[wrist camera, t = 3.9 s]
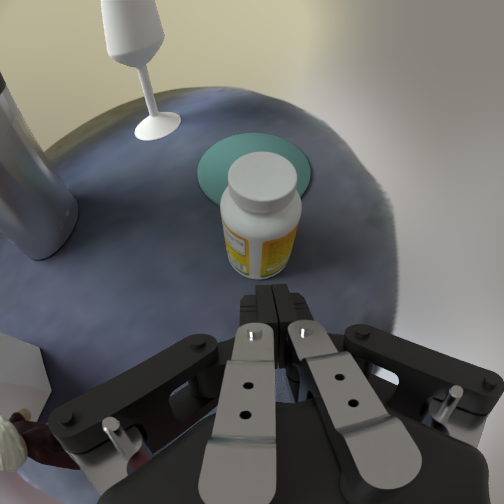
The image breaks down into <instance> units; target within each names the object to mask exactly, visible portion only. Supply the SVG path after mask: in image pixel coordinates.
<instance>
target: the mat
mask: <svg viewBox="0 0 504 504" xmlns="http://www.w3.org/2000/svg"><path fill="white" fill-rule="evenodd" d="M253 152H271V153H275V154H278V155H280V156H282V157H284V158H286V159H287V160H288V161H289V162H291V164H292V165H293V166H294V168H295V170H296V173H297V185H296V190H297V192H298V194H299V196H300V197H301V196H302V195H303V193H304V192H305V191H306V189H307V187H308V184H309V181H310V174H311V171H310V165H309V162H308V160H307V158H306V156H305V155H304V153H303V152H302V151H301V150H300V149H299V148H298V147H296V146H295V145H294V144H292V143H291V142H289V141H287V140H285V139H283V138H281V137H278V136H275V135H270V134H265V133H243V134H237V135H233V136H230V137H227V138H225V139H222V140H221V141H219V142H217V143H215V144H214V145H213V146H211V147H210V148H209V149H208V150H207V151H206V152H205V153H204V155H203V156H202V158H201V160H200V162H199V165H198V170H197V176H198V181H199V185H200V187H201V189H202V191H203V192H204V194H205V195H206V196H207V197H208V198H209V199H210V200H211V201H213V202H214V203H215V204H217V205H219V206H220V203H221V198H222V195H223V193H224V191H225V189H226V188H227V187H228V172H229V169H230V167H231V166H232V164H233V163H234V162H235V161H236V160H237V159H238V158H240V157H242V156H243V155H246V154H249V153H253Z"/></svg>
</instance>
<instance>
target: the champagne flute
mask: <svg viewBox="0 0 504 504" xmlns="http://www.w3.org/2000/svg"><path fill="white" fill-rule="evenodd" d="M101 9H102V17H103V25H104V32H105V39H106V45H107V51H108V54H109V56H110V57H111V58H112V59H113V60H115V61H117V62H119V63H121V64H124V65H127V66H130V67H136V68H137V71H138V75H139V78H140V82H141V86H142V89H143V93H144V96H145V100H146V103H147V107H148V110H149V114H150V116H148V117H147V118H146V119H144V120H143V121H142V122H141V123H140V124H139V125H138V126H137V127H136V129H135V136H136V137H137V138H139V139H141V140H155V139H159V138H162V137H164V136H167V135H168V134H170V133H172V132H173V131H174V130H176V129H177V128H178V126H179V125H180V123H181V118H180V116H179V115H177V114H175V113H171V112H158V110H157V106H156V102H155V98H154V94H153V91H152V87H151V83H150V79H149V75H148V71H147V67H146V64H147V63H148V62H149V61H150V60H151V59H152V58H153V56H154V55H155V54H156V52H157V51H158V50H159V48H160V46H161V44H162V42H163V40H164V32H163V29H162V25H161V22H160V19H159V15H158V11H157V8H156V4H155V1H154V0H101Z"/></svg>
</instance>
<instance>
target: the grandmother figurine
mask: <svg viewBox="0 0 504 504" xmlns="http://www.w3.org/2000/svg"><path fill="white" fill-rule="evenodd" d="M30 419H31V413H30V411H29V410H28V409H25V408H23V409H21V410H20V411H18V412H15V413H13V414H12V415H11V417H10V418H9V420H8V419H6V418H5V417H3V416H1V415H0V471H3V472H10V471H17V470H18V468H20V467H21V466H23V464H24V463H25V461H26V459H27V456H28V457H30V458H31V459H33V460H35V461H37V462H39V463H41V464H45V465H51V466H56V467H62V468H69V469H74V470H80V469H81V468H80V466H79V465H78V464H77V463H76V462H75V461H74V460H73V459H72V458H71V457H70V455H69V454H68V453H67V452H66V451H65V450H64V449H63V447H62V446H61V443H60V442H59V441H58V440H57V439H56V437H55V436H54V435H53V433H52V432H51V431H50V430H49V427H48V423H46V424H45V423H43V422H34V421H30Z"/></svg>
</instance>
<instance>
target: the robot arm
mask: <svg viewBox="0 0 504 504" xmlns="http://www.w3.org/2000/svg"><path fill="white" fill-rule="evenodd" d="M77 217H78V203H77V201H76V199H75V198H74V196H73V195H72V193H71V192H70V191H69V189H68V188H67V186H66V185H65V184H64V182H63V181H62V179H61V178H60V176H59V175H58V173H57V172H56V170H55V169H54V167H53V166H52V164H51V163H50V161H49V160H48V158H47V157H46V155H45V153H44V152H43V150H42V149H41V147H40V145H39V144H38V142H37V141H36V139H35V137H34V136H33V134H32V132H31V131H30V129H29V127H28V125H27V124H26V122H25V120H24V118H23V117H22V115H21V113H20V111H19V109H18V108H17V106H16V104H15V102H14V100H13V98H12V96H11V94H10V92H9V90H8V88H7V86H6V83H5V81H4V79H3V77H2V75H1V73H0V232H1V233H2V234H3V235H4V236H5V237H6V238H7V239H8V240H9V241H10V242H12V243H13V244H14V245H15V246H16V247H17V248H19V249H20V250H21V251H22V252H23V253H25V254H26V255H27V256H28V257H29V258H31V259H34V260H41V259H44V258H47V257H48V256H50V255H52V254H53V253H55V252H56V251H57V250H58V249H59V248H60V247H61V246H62V245H63V244H64V243H65V241H66V240H67V239H68V237H69V236H70V234H71V232H72V230H73V229H74V226H75V224H76V221H77ZM255 289H256V295H245V296H244V297H243V298H242V299H241V301H240V327H239V328H238V330H237V332H236V336H235V337H234V338H232V339H230V340H227V341H224V342H219V343H217V340H216V339H215V338H214V337H212V336H210V335H207V334H194V335H190V336H188V337H186V338H184V339H182V340H181V341H179V342H177V343H175V344H174V345H172V346H170V347H169V348H167V349H165V350H163V351H162V352H160V353H158V354H156V355H154V356H153V357H151V358H149V359H147V360H146V361H144V362H142V363H140V364H138V365H137V366H135V367H133V368H131V369H129V370H127V371H126V372H124V373H122V374H120V375H118V376H116V377H115V378H113V379H111V380H109V381H107V382H105V383H103V384H101V385H99V386H98V387H96V388H94V389H92V390H90V391H88V392H86V393H84V394H82V395H80V396H78V397H76V398H74V399H72V400H70V401H68V402H66V403H64V404H62V405H60V406H58V407H57V408H55V409H54V410H53V411H52V412H51V413H50V415H49V417H48V427H49V430H50V431H51V432H52V433H53V435H54V436H55V437H56V439H57V440H58V441H59V442H60V443H61V446H62V447H63V449H64V450H65V451H66V452H67V453H68V454H69V455H70V457H71V458H72V459H73V460H74V461H75V462H76V463H77V464H78V465H79V466H80V468H81V469H82V471H83V472H84V474H85V475H86V477H87V478H88V479H89V481H90V482H91V484H92V485H93V486H94V488H95V489H96V490H97V492H98V493H99V494H100V496H101V497H100V499H99V500H98V503H97V504H491V503H490V498H489V487H488V479H489V478H488V477H489V470H488V465H487V462H486V459H485V458H484V456H483V454H482V453H481V452H480V451H479V450H478V449H477V446H478V443H479V440H480V437H481V435H482V432H483V428H484V425H485V422H486V418H487V417H488V415H489V414H490V412H491V411H492V409H493V408H494V406H495V405H496V403H497V402H498V400H499V398H500V396H501V395H502V393H503V392H504V381H503V379H502V378H501V377H500V376H499V375H498V374H497V373H495V372H493V371H490V370H487V369H484V368H481V367H478V366H475V365H473V364H470V363H467V362H464V361H461V360H458V359H456V358H453V357H450V356H447V355H445V354H442V353H439V352H437V351H434V350H431V349H429V348H426V347H423V346H421V345H418V344H415V343H413V342H410V341H407V340H405V339H402V338H399V337H397V336H394V335H392V334H389V333H387V332H384V331H382V330H379V329H376V328H374V327H371V326H368V325H363V324H357V325H352V326H350V327H348V328H347V329H346V330H345V334H344V335H337V334H330V333H326V331H325V329H324V328H323V326H322V325H321V324H320V323H318V322H316V321H314V319H313V317H312V315H311V312H310V310H309V308H308V305H307V304H306V301H305V298H304V297H303V296H301V295H300V294H299V293H290V292H289V290H288V287H287V284H272V285H255ZM373 364H375V365H377V366H379V367H382V368H384V369H386V370H389V371H391V372H393V373H395V374H396V375H397V376H398V378H399V384H398V385H395V384H393V383H391V382H389V381H386V380H384V379H382V378H380V377H378V376H376V375H373V374H371V369H372V366H373ZM278 365H279V368H285V369H286V385H287V388H288V392H289V395H290V398H291V402H292V403H282V402H275V369H277V366H278ZM187 381H188V383H189V384H188V385H187V386H185V387H184V388H183V389H181V390H180V391H178V392H177V393H175V394H174V395H172V396H171V397H169V396H170V394H171V393H172V392H173V391H174V390H175V389H177V388H178V387H180V386H181V385H183V384H184V383H186V382H187ZM217 405H218V407H217V412H216V413H215V414H212V415H210V416H208V417H206V418H204V419H203V420H201V421H199V420H200V419H201V418H203V417H204V416H205V415H206V414H208V413H209V412H210V411H211V410H213V409H214V408H215V407H216V406H217ZM197 421H199V422H198V423H197V424H195V423H196V422H197ZM194 424H195V425H194ZM192 425H194V426H193V427H192V428H191V429H189V430H188V431H187V432H186V433H184V434H183V435H182V436H181V437H179V438H178V439H177V440H176V441H174V442H173V443H172V444H171V445H169V446H168V447H167V448H165V449H164V450H163V451H161V452H160V453H159V454H157V455H156V456H155V457H153V456H152V454H154V453H155V452H156V451H158V450H159V449H161V448H162V447H164V446H165V445H166V444H168V443H169V442H171V441H172V440H173V439H175V438H176V437H178V436H179V435H180V434H182V433H183V432H184V431H186V430H187V429H188V428H190V427H191V426H192Z"/></svg>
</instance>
